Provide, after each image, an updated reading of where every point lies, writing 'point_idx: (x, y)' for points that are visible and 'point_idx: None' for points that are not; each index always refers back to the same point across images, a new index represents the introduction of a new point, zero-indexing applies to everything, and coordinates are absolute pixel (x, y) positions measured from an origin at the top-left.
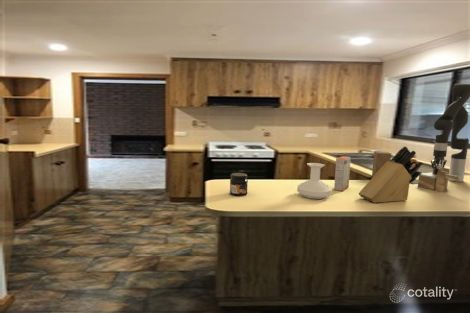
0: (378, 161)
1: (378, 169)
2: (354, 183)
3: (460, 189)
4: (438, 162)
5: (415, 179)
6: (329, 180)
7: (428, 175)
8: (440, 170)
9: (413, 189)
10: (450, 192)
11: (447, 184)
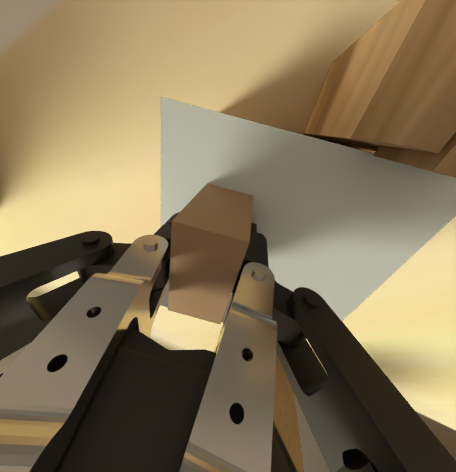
0: (300, 467)
1: (291, 408)
2: (451, 388)
3: (134, 17)
4: (263, 461)
5: (167, 292)
6: (445, 420)
7: (389, 261)
8: (242, 221)
9: (436, 242)
10: (362, 6)
11: (370, 32)
